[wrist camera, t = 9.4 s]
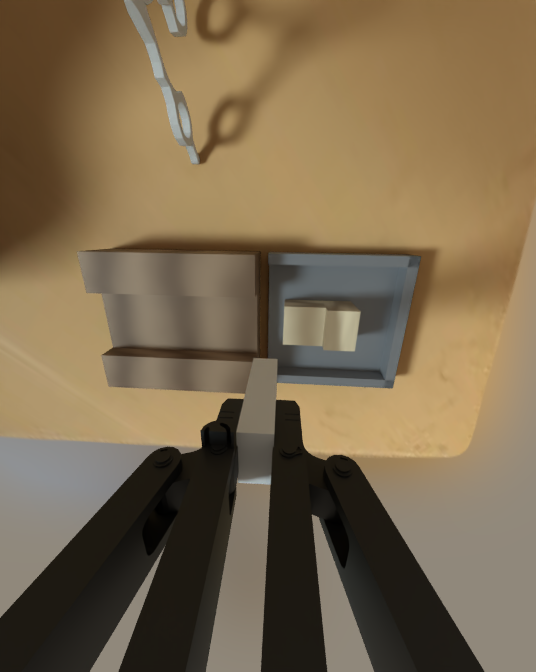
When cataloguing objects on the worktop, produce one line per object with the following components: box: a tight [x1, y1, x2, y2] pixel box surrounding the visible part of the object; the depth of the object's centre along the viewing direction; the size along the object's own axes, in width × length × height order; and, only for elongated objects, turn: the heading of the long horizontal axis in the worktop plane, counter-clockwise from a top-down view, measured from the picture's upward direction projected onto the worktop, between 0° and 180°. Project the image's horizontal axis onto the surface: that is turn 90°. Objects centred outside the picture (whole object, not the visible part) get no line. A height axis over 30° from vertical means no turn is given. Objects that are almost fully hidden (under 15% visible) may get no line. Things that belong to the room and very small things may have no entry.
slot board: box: [77, 249, 260, 394], centre depth 28 cm, size 16×14×5 cm
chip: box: [322, 301, 361, 351], centre depth 27 cm, size 4×4×3 cm
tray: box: [268, 252, 421, 388], centre depth 28 cm, size 14×14×2 cm
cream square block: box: [283, 299, 326, 346], centre depth 27 cm, size 4×4×3 cm
